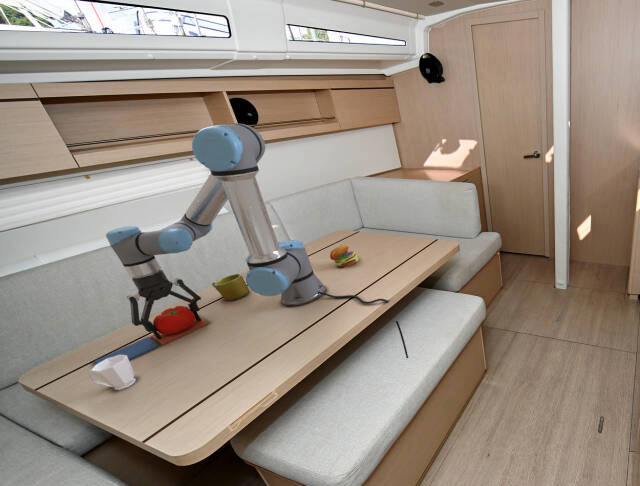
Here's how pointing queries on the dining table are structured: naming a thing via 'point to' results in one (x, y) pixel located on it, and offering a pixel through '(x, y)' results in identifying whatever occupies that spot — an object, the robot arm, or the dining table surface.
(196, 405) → the dining table surface
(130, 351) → the blue mat
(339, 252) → the cheeseburger
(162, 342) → the red mat
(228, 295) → the mug
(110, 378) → the cup
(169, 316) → the tomato
